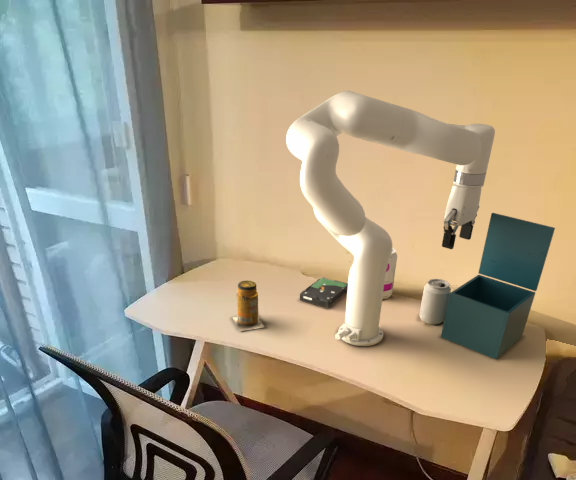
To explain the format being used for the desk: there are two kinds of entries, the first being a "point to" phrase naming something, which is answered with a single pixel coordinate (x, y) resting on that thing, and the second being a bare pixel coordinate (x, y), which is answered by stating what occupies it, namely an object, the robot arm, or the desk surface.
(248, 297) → the condiment
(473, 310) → the teal box
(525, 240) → the lid
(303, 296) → the disk drive
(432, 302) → the can
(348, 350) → the desk surface
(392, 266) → the supplement can
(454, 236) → the robot arm
